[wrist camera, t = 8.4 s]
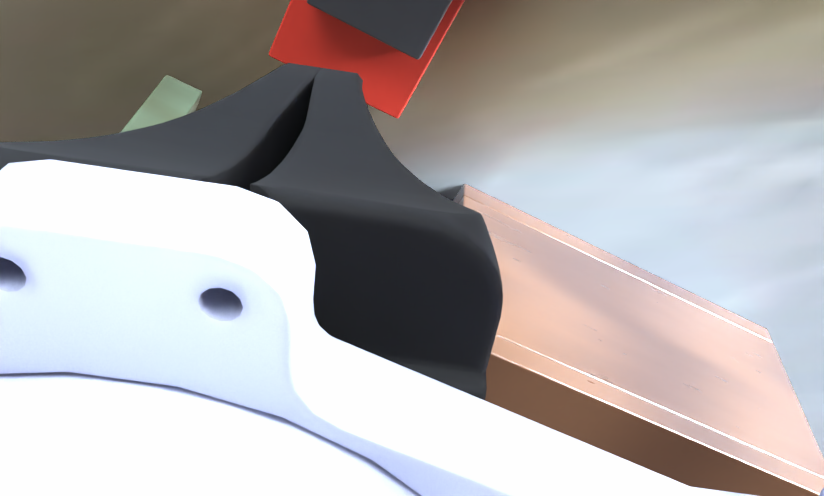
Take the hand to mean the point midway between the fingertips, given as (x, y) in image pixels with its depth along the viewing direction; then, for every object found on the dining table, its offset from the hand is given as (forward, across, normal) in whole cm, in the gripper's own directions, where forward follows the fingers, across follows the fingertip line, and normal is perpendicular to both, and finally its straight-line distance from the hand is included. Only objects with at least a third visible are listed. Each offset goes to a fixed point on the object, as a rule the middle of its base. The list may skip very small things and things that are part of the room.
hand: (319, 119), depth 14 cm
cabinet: (+10, -8, +15) cm, 20 cm away
